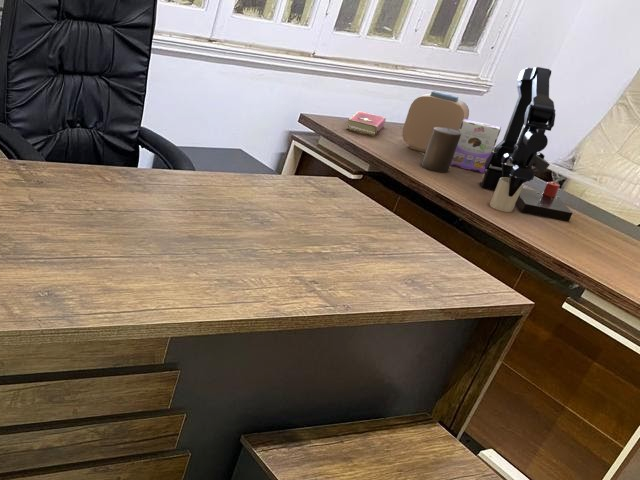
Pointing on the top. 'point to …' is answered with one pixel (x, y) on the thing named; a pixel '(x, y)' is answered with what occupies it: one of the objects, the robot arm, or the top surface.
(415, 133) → the alarm clock
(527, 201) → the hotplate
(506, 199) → the cup
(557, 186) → the red cube
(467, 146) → the candy box
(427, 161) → the pillar candle
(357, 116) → the hardcover book
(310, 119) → the top surface
